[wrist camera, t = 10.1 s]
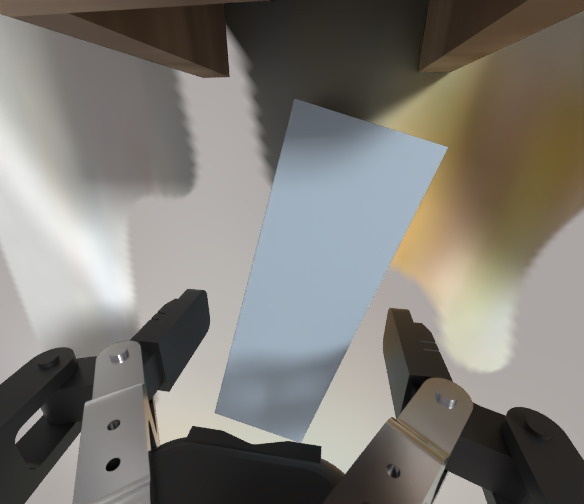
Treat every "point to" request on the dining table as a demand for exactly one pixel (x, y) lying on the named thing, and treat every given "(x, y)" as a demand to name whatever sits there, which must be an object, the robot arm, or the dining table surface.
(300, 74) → the dining table surface
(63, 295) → the dining table surface
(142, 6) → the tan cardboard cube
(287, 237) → the blank
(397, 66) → the dining table surface
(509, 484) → the robot arm
